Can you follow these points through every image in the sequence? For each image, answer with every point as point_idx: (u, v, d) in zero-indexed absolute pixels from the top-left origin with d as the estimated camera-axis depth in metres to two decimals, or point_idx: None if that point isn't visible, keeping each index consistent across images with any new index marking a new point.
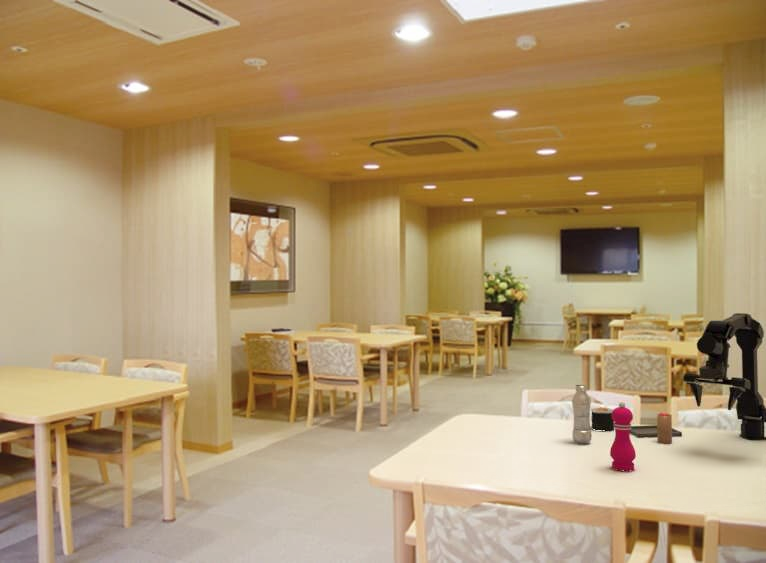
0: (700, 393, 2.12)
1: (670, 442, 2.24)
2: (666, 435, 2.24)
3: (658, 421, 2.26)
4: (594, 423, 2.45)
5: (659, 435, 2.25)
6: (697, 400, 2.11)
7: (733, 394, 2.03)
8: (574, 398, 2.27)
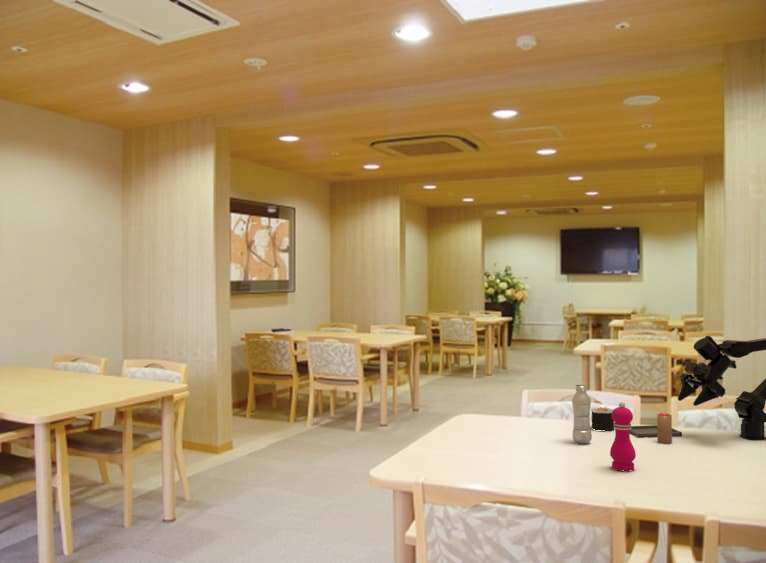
0: (687, 392, 2.32)
1: (670, 442, 2.24)
2: (666, 435, 2.24)
3: (658, 421, 2.26)
4: (594, 423, 2.45)
5: (659, 435, 2.25)
6: (679, 394, 2.32)
7: (703, 392, 2.21)
8: (574, 398, 2.27)
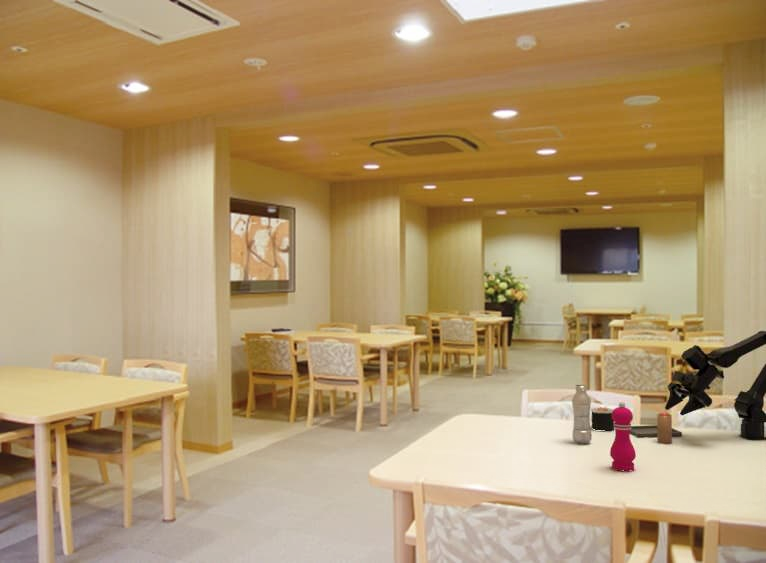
0: (675, 402, 2.32)
1: (670, 442, 2.24)
2: (666, 435, 2.24)
3: (658, 421, 2.26)
4: (594, 423, 2.45)
5: (659, 435, 2.25)
6: (667, 403, 2.31)
7: (689, 401, 2.21)
8: (574, 398, 2.27)
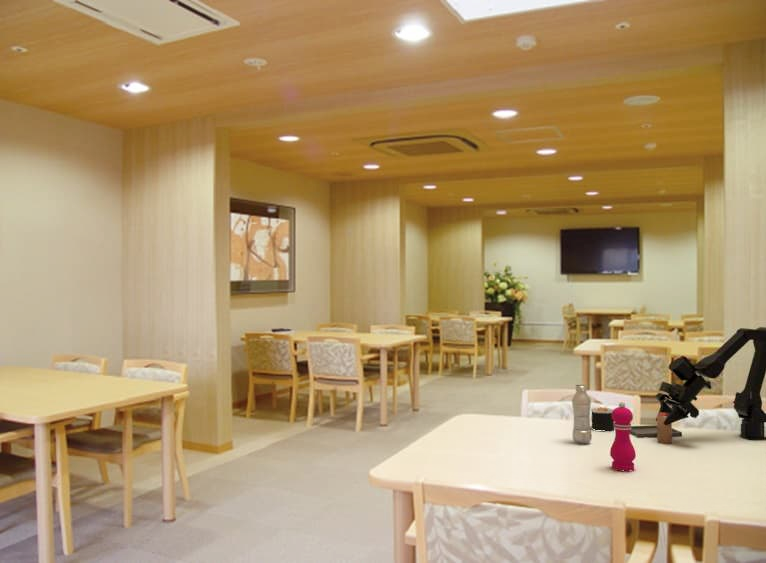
0: None
1: (670, 442, 2.24)
2: (666, 435, 2.24)
3: (658, 421, 2.26)
4: (594, 423, 2.45)
5: (659, 435, 2.25)
6: None
7: (673, 411, 2.23)
8: (574, 398, 2.27)
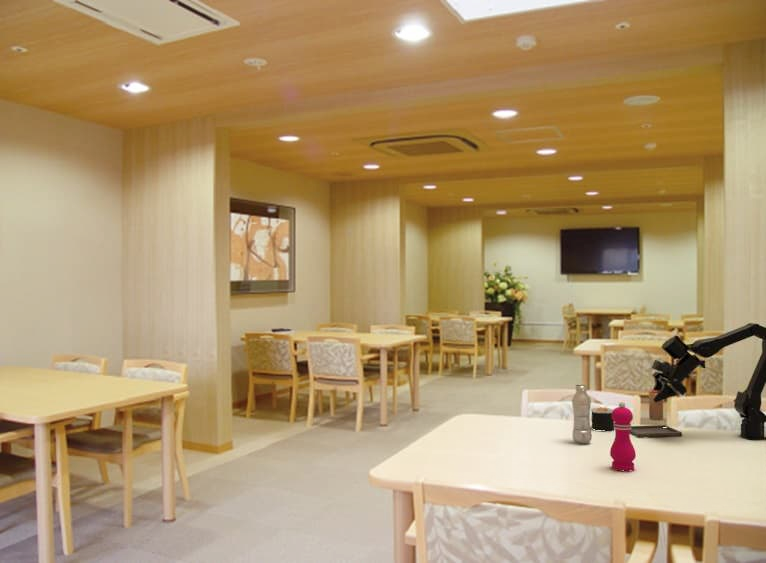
0: None
1: (660, 419, 2.30)
2: (657, 412, 2.30)
3: (649, 398, 2.33)
4: (594, 423, 2.45)
5: (650, 412, 2.32)
6: None
7: (662, 389, 2.29)
8: (574, 398, 2.27)
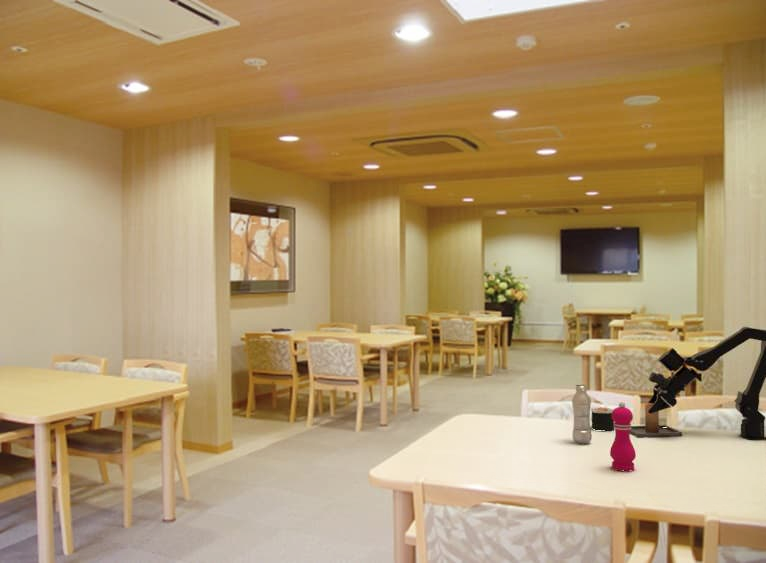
0: None
1: (655, 431, 2.37)
2: (651, 424, 2.38)
3: (645, 411, 2.40)
4: (594, 423, 2.45)
5: (645, 424, 2.40)
6: (648, 402, 2.44)
7: (656, 401, 2.34)
8: (574, 398, 2.27)
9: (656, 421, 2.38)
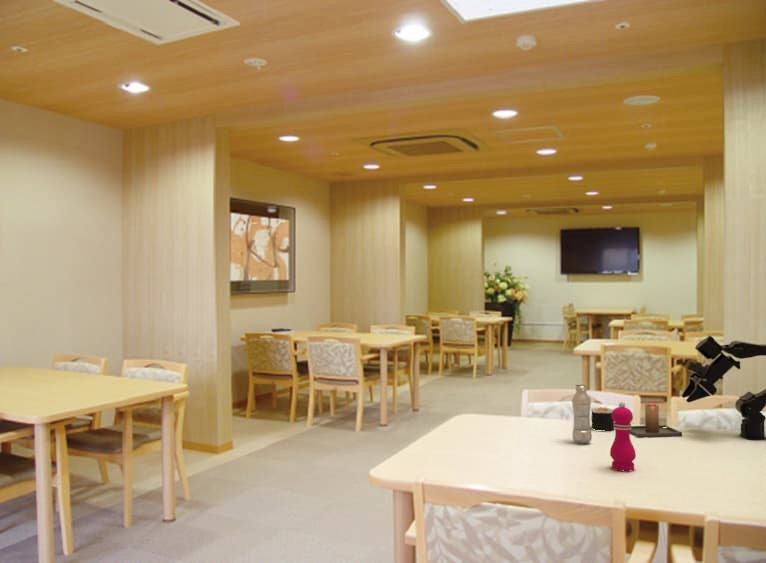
0: (693, 390, 2.40)
1: (655, 431, 2.37)
2: (651, 424, 2.38)
3: (645, 411, 2.40)
4: (594, 423, 2.45)
5: (645, 424, 2.40)
6: (684, 391, 2.40)
7: (695, 389, 2.29)
8: (574, 398, 2.27)
9: (656, 421, 2.38)
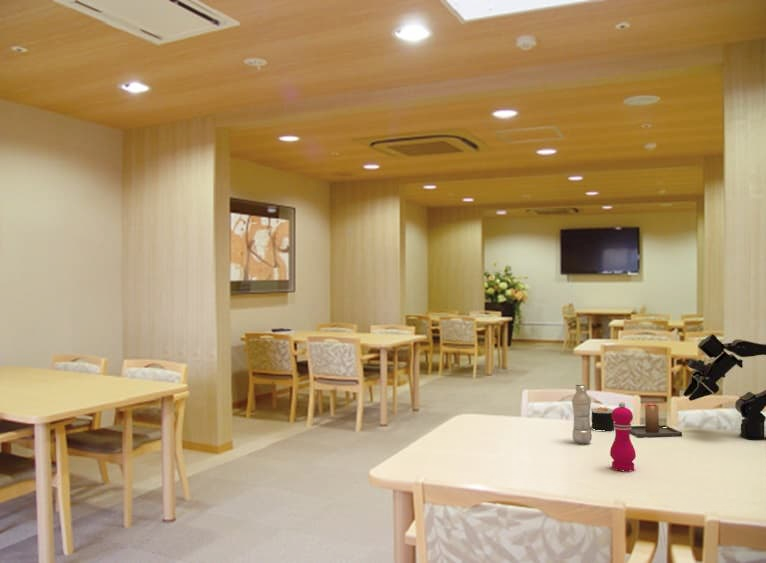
0: (694, 389, 2.39)
1: (655, 431, 2.37)
2: (651, 424, 2.38)
3: (645, 411, 2.40)
4: (594, 423, 2.45)
5: (645, 424, 2.40)
6: (685, 390, 2.40)
7: (697, 388, 2.29)
8: (574, 398, 2.27)
9: (656, 421, 2.38)
